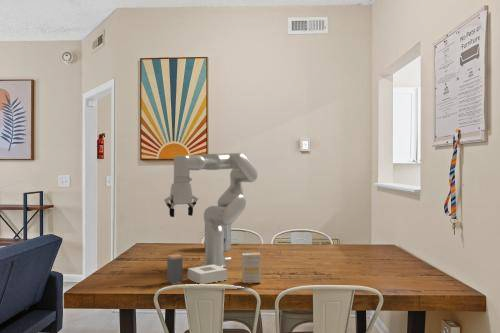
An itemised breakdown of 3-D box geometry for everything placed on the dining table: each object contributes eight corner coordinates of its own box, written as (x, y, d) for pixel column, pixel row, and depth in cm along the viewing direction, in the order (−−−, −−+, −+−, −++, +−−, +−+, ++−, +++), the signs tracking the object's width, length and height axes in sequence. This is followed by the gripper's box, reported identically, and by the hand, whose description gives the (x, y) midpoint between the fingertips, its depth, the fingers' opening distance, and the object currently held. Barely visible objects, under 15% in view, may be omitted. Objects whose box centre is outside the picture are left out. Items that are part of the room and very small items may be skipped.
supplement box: (259, 280, 185) (260, 252, 185) (260, 283, 180) (260, 254, 180) (241, 281, 185) (242, 252, 185) (242, 284, 180) (242, 254, 180)
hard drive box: (204, 249, 255) (204, 218, 255) (208, 247, 262) (209, 216, 263) (227, 251, 251) (227, 219, 251) (231, 249, 258) (231, 217, 258)
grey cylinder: (177, 280, 185) (177, 254, 186) (182, 282, 181) (182, 255, 181) (167, 281, 182) (167, 255, 183) (172, 284, 178) (172, 257, 179)
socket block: (213, 274, 195) (213, 264, 195) (227, 280, 186) (227, 269, 186) (187, 279, 187) (187, 268, 187) (200, 285, 177) (200, 273, 177)
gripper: (193, 180, 203) (193, 214, 203) (161, 180, 193) (161, 216, 193) (201, 180, 197) (200, 215, 197) (168, 181, 187) (168, 218, 187)
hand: (181, 216), depth 195 cm, fingers open, 9 cm apart
